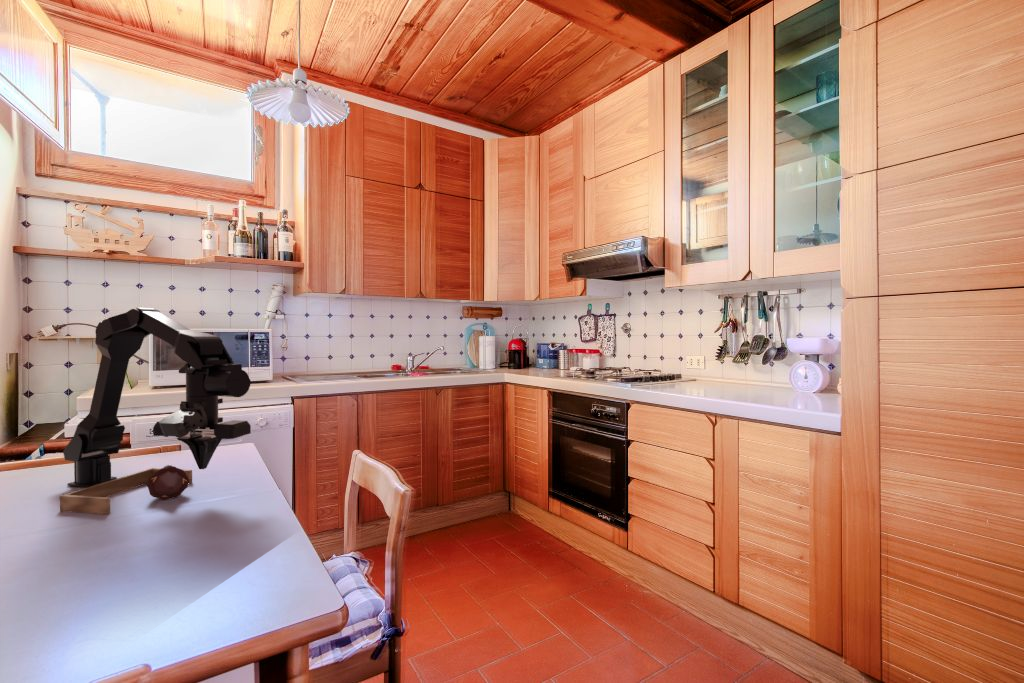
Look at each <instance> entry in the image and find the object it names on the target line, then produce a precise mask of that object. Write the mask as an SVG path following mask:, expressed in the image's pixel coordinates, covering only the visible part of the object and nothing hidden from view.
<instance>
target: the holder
mask: <svg viewBox="0 0 1024 683" xmlns="http://www.w3.org/2000/svg"><path fill="white" fill-rule="evenodd" d="M162 468H163V467H162ZM162 468H161V467H151V468H147V469H144V470H141V471H137V472H134V473H131V474H128V475H125V476H121V477H117V479H114V480H111V481H107V482H104V483H101V484H97V485H94V486H91V487H83V488H82V489H78V490H75V491H71V492H69V493H65V494H61V495H59V512H67V511H72V512H71V513H80V512H85V513H84V514H94V513H97V514H98V515H108V514H111V497H110V496H113V495H116V494H119V493H122V492H125V491H129V490H131V489H134V488H137V487H140V486H143V485H146V484H147V483H148V479H149V478H150V477H151V476H152V475H153V474H154V473H155V472H156V471H158V470H159V469H162ZM182 470H184V471H185V473H186V475H187V477H188V478H189V480H190V481H189V483H190V484H192V483H193V470H192V469H182ZM191 482H192V483H191ZM145 483H146V484H145ZM142 484H143V485H142ZM139 485H140V486H139Z"/></svg>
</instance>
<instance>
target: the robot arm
mask: <svg viewBox="0 0 1024 683" xmlns="http://www.w3.org/2000/svg"><path fill="white" fill-rule="evenodd" d="M150 335H152V336H154V337H156V338H158V339H160V340H161V341H163V342H165V343H166V344H168V345H170V346H171V347H173V351H174V354H175V355H176V356H177V357H178V358H179V359H180V360H181V361H182V362H184V365H183V366H182V367H180V369H179V370H178V373H179V374H185V400H182V401H180V404H179V409H178V410H177V411H174V412H173V413H170V414H169V415H167V416H166V417H164V418H162V419H161V420H159V421H156V423H155V424H154V425H153V426H152V428H153V430H152V434H153V436H154V437H164V438H169V437H176V438H177V441H179V442H180V441H181V442H182V443H184V444H185V445H187V446H188V448H189V449H190V451H191V454H192V456H193V458H194V461H195V463H196V465H197V467H198V469H199V470H206V469H207V467H208V465H209V464H210V461H211V459H212V458H213V456H214V453H215V451H216V450H217V448H218V446H219V444H220V443H221V442H222V440H231V439H236V438H239V437H243V436H246V435H249V434H250V435H251V434H252V433H251V427H252V426H251V424H250V422H249V421H248V420H236V419H235V420H232V419H231V420H229V421H224V419H223V418H224V417H222V416H219V405H220V404H223V402H224V400H223V399H224V398H222V397H226V398H241V397H243V396H244V395H246V394H247V393H248V392H249V390H250V387H251V379H250V377H249V374H248V373H247V372H246V371H245V370H244V369H243V364H242V363H235V362H234V361H233V358H232V357H231V356H230V353H229V352H228V350H227V348H226V346H225V345H224V342H223V339H222V338H221V337H219V336H218V335H215V334H211V333H207V332H201V331H196V330H193V329H190V328H188V327H186V326H185V325H183V324H181V323H180V322H177V321H175V319H171V318H170V317H168V316H167V315H166V314H163V313H161V311H160V310H159V309H156V308H152V307H150V308H149V307H134V308H131V309H130V310H128V311H126V312H124V313H120V314H117V315H114V316H110V317H108V318H107V319H106V318H105V319H103V320H102V321H99V322H98V323H97V326H96V328H95V341H94V343H95V345H96V346H97V348H98V350H99V352H100V354H101V357H100V363H99V368H98V371H97V377H96V379H95V380H96V381H95V386H94V391H93V394H92V399H91V404H90V408H89V412H88V414H87V415H86V416H85V417H84V418H83V419H82V420H81V421H80V422H79V423H78V424H77V425H76V428H75V432H74V435H73V436H72V437H71V440H70V441H69V442H68V443H67V445H66V446H65V448H64V449H63V451H62V453H63V454H62V455H63V458H64V461H69V462H70V461H71V462H74V463H73V464H74V466H73V468H74V470H73V471H74V481H71V482H68V483H66V485H67V486H68V487H83V488H88V487H91V486H94V485H97V484H101V483H104V482H107V481H111V480H114V479H117V478H118V477H117V476H112V462H111V455H116V454H119V452H120V447H121V444H122V442H123V440H124V438H123V436H124V432H125V429H126V427H125V425H124V424H122V423H121V422H120V420H119V418H118V411H119V406H120V403H121V397H122V393H123V389H124V385H125V380H126V376H127V371H128V367H129V362H130V359H131V358H132V357H133V356H135V354H136V353H137V352H138V351H139V350H140V349H141V347H142V344H143V343H144V339H145V338H147V337H149V336H150Z"/></svg>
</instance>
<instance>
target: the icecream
mask: <svg viewBox="0 0 1024 683" xmlns="http://www.w3.org/2000/svg"><path fill="white" fill-rule="evenodd" d="M184 470H185V469H184ZM184 470H182V469H181V468H179V467H176V466H173V465H169V464H167V465H165V466H163V467H162V469H159V470H158V471H156V472H155V473H154V474H153V475H152V476H151V477H150V478H149V479H148V483H146V487H147V488H148V492H149V495H150V496H151V497H152V498H155V499H156V498H157V499H159V500H162V501H165V499H166V500H169V498H171V499H175V497H176V498H178V497H179V496H181V495H182V493H183V492H184V491H186V489H187V488H188V487H189V484H188V483H189V481H190V480H189V478H188V477H187V475H186V473H185V471H184Z"/></svg>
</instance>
